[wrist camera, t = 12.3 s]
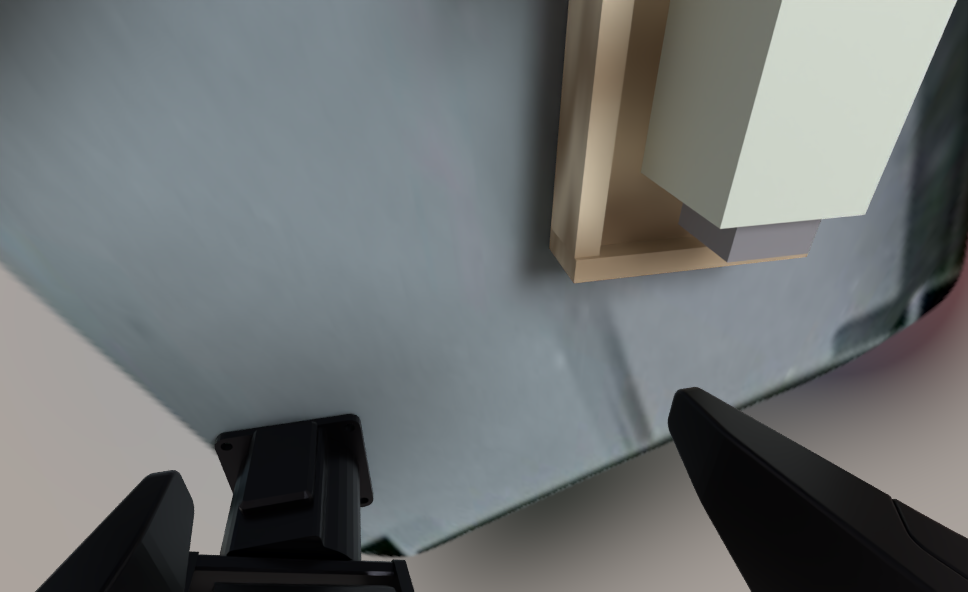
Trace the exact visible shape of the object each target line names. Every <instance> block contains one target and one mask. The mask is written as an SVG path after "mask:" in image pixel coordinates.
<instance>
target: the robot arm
mask: <svg viewBox="0 0 968 592" xmlns="http://www.w3.org/2000/svg"><path fill="white" fill-rule="evenodd" d="M347 424H353V425H347ZM668 428H669V431H670V434H671V436H672V438H673V441H674V443H675V445H676V447H677V450H678V452H679V454H680V456H681V459H682V461H683V463H684V466H685V468H686V470H687V472H688V475H689V477H690V479H691V482H692V484H693V486H694V488H695V490H696V493H697V495H698V497H699V499H700V501H701V503H702V505H703V507H704V509H705V510H706V512H707V514H708V516H709V518H710V519H711V521H712V523H713V525H714V526H715V528H716V530H717V532H718V534H719V535H720V537H721V539H722V541H723V542H724V544H725V546H726V548H727V550H728V551H729V553H730V555H731V557H732V558H733V560H734V562H735V563H736V566H737V567H738V569H739V571H740V573H741V574H742V576H743V578H744V580H745V581H746V583H747V585H748V587H749V589H750V590H751V592H968V538H966V537H964V536H962V535H960V534H958V533H956V532H954V531H952V530H951V529H949V528H947V527H945V526H943V525H942V524H940V523H938V522H936V521H934V520H932V519H930V518H929V517H927V516H925V515H923V514H921V513H920V512H918V511H916V510H914V509H913V508H911V507H909V506H907V505H906V504H904V503H902V502H900V501H898V500H897V499H892V498H891V497H890V496H889V495H888V494H886V493H884V492H882V491H880V490H879V489H877V488H875V487H874V486H872V485H870V484H868V483H866V482H865V481H863V480H861V479H859V478H858V477H856V476H854V475H852V474H851V473H849V472H847V471H845V470H844V469H842V468H840V467H838V466H837V465H835V464H833V463H831V462H829V461H828V460H826V459H824V458H822V457H821V456H819V455H817V454H815V453H814V452H811V451H810V450H808V449H807V448H805V447H803V446H801V445H799V444H798V443H796V442H794V441H792V440H791V439H789V438H787V437H785V436H784V435H782V434H780V433H778V432H776V431H775V430H773V429H771V428H769V427H768V426H766V425H764V424H762V423H761V422H759V421H757V420H755V419H754V418H752V417H750V416H748V415H746V414H745V413H743V412H741V411H740V410H738V409H736V408H734V407H732V406H731V405H729V404H727V403H725V402H724V401H722V400H720V399H718V398H717V397H715V396H713V395H711V394H710V393H708V392H706V391H704V390H703V389H700V388H698V387H691V388H685V389H679V390H677V392H676V393H675V395H674V398H673V402H672V406H671V409H670V413H669V417H668ZM226 443H230V444H226ZM215 450H216V452H217V455H218V457H219V460H220V462H221V465H222V467H223V470H224V472H225V475H226V477H227V480H228V482H229V485H230V487H231V490H232V492H233V498H232V502H231V506H230V511H229V515H228V520H227V524H226V529H225V534H224V538H223V542H222V547H221V551H220V555H199V552H189V550H190V542H191V534H192V526H193V519H194V504H193V500H192V498H191V496H190V493H189V491H188V489H187V487H186V485H185V483H184V481H183V479H182V477H181V475H180V473H179V472H177V471H176V470H170V471H163V472H157V473H152V474H150V475H148V476H147V477H145V478H144V479H143V480H142V481H141V482H140V483H139V484H138V485H137V486H136V487H135V488H134V489H133V490H132V491H131V492H130V494H129V495H128V496H127V497H126V498H125V499H124V500H123V501H122V502H121V503H120V504H119V505H118V506H117V507H116V508H115V509H114V510H113V511H112V512H111V513H110V514H109V515H108V516H107V517H106V519H105V520H104V521H103V522H102V523H101V524H100V525H99V526H98V527H97V528H96V529H95V530H94V531H93V532H92V533H91V534H90V535H89V536H88V537H87V538H86V539H85V540H84V541H83V543H81V545H80V546H79V547H78V548H77V549H76V550H75V551H74V552H73V553H72V554H71V555H70V556H69V557H68V558H67V559H66V560H65V561H64V562H63V563H62V564H61V565H60V566H59V567H58V568H57V569H56V571H55V572H54V573H53V574H52V575H51V576H50V577H49V578H48V579H47V580H46V581H45V582H44V583H43V584H42V585H41V586H40V587H39V588H38V589H37V590H36V591H35V592H414V589H413V585H412V582H411V578H410V575H409V571H408V568H407V564H406V561H405V560H392V561H391V562H385V561H361V524H360V507H365V506H368V505H370V504H371V503H372V502H373V489H372V484H371V478H370V472H369V467H368V461H367V455H366V449H365V444H364V438H363V432H362V427H361V421H360V418H359V417H358V416H357V415H354V414H346V415H340V416H333V417H326V418H320V419H313V420H306V421H299V422H293V423H286V424H279V425H273V426H266V427H259V428H253V429H246V430H239V431H233V432H226V433H222V434H220V435H219V436H218V437H217V439H216V443H215Z"/></svg>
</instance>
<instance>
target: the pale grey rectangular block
mask: <svg viewBox="0 0 968 592" xmlns="http://www.w3.org/2000/svg"><path fill="white" fill-rule="evenodd" d="M956 1H957V0H670V5H669V11H668V16H667V22H666V28H665V34H664V40H663V46H662V51H661V57H660V63H659V69H658V75H657V81H656V86H655V92H654V98H653V104H652V110H651V116H650V122H649V127H648V133H647V139H646V145H645V151H644V157H643V162H642V168H641V173H642V174H644V175H645V176H646V177H648V178H649V179H651V180H652V181H653V182H655V183H656V184H658V185H659V186H660V187H662V188H663V189H665V190H666V191H667V192H669V193H670V194H672V195H673V196H675V197H676V198H677V199H679V200H680V201H682V202H683V204H682V208H681V213H680V217H679V222H678V224H679V225H680V226H681V227H683V228H684V229H685V230H686V231H688V232H689V233H690V234H691V235H693V236H694V237H695V238H697V239H698V240H699V241H700V242H702V243H703V244H704V245H705V246H707V247H708V248H709V249H711V250H712V251H713V252H714V253H716V254H717V255H718V256H719V257H721V258H722V259H723V260H725V261H726V262H727V263H728V262H737V261H746V260H755V259H764V258H773V257H782V256H791V255H800V254H809V251H810V248H811V246H812V243H813V240H814V238H815V235H816V233H817V230H818V227H819V225H820V222H821V220H822V219H826V218H836V217H847V216H857V215H865V213H866V211H867V208H868V206H869V204H870V201H871V199H872V197H873V194H874V192H875V190H876V187H877V185H878V183H879V180H880V178H881V176H882V173H883V171H884V169H885V166H886V164H887V162H888V159H889V157H890V155H891V152H892V150H893V148H894V145H895V143H896V141H897V138H898V136H899V134H900V131H901V129H902V127H903V124H904V122H905V120H906V117H907V115H908V113H909V110H910V108H911V106H912V103H913V101H914V99H915V96H916V94H917V92H918V90H919V87H920V85H921V83H922V80H923V78H924V76H925V73H926V71H927V69H928V66H929V64H930V62H931V59H932V57H933V55H934V52H935V50H936V48H937V45H938V43H939V41H940V38H941V36H942V34H943V31H944V29H945V27H946V24H947V22H948V20H949V17H950V15H951V13H952V10H953V8H954V6H955V3H956Z"/></svg>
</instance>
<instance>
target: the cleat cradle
mask: <svg viewBox="0 0 968 592" xmlns="http://www.w3.org/2000/svg"><path fill="white" fill-rule="evenodd" d="M669 5H670V0H569V5H568V18H567V30H566V43H565V56H564V68H563V81H562V94H561V106H560V119H559V132H558V144H557V157H556V170H555V182H554V195H553V208H552V220H551V233H550V246H549V249H550V250H551V252H552V253H553V254H554V256H555V257H556V259H557V260H558V262H559V263H560V264H561V266H562V267H563V269H564V270H565V271H566V273H567V274H568V276H569V277H570V279H571V280H572V281H573V283H581V282H590V281H599V280H608V279H616V278H625V277H634V276H643V275H652V274H660V273H669V272H678V271H687V270H696V269H704V268H713V267H722V266H731V265H740V264H749V263H757V262H766V261H775V260H784V259H793V258H801V257H807V255H808V254H800V255H791V256H782V257H773V258H764V259H755V260H746V261H737V262H728V263H727V262H726V261H725V260H723V259H722V258H721V257H719V256H718V255H717V254H716V253H714V252H713V251H712V250H711V249H709V248H708V247H707V246H705V245H704V244H703V243H702V242H700V241H699V240H698V239H697V238H695V237H694V236H693V235H691V234H690V233H689V232H688V231H686V230H685V229H684V228H683V227H681V226H680V225H679V224H678V222H679V217H680V213H681V208H682V204H683V202H682V201H680V200H679V199H677V198H676V197H675V196H673V195H672V194H670V193H669V192H667V191H666V190H665V189H663V188H662V187H660V186H659V185H658V184H656V183H655V182H653V181H652V180H651V179H649V178H648V177H646V176H645V175H644V174H642V173H641V168H642V162H643V157H644V151H645V145H646V139H647V133H648V127H649V122H650V116H651V110H652V104H653V98H654V92H655V86H656V81H657V75H658V69H659V63H660V57H661V51H662V46H663V40H664V34H665V28H666V22H667V16H668V11H669Z"/></svg>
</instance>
